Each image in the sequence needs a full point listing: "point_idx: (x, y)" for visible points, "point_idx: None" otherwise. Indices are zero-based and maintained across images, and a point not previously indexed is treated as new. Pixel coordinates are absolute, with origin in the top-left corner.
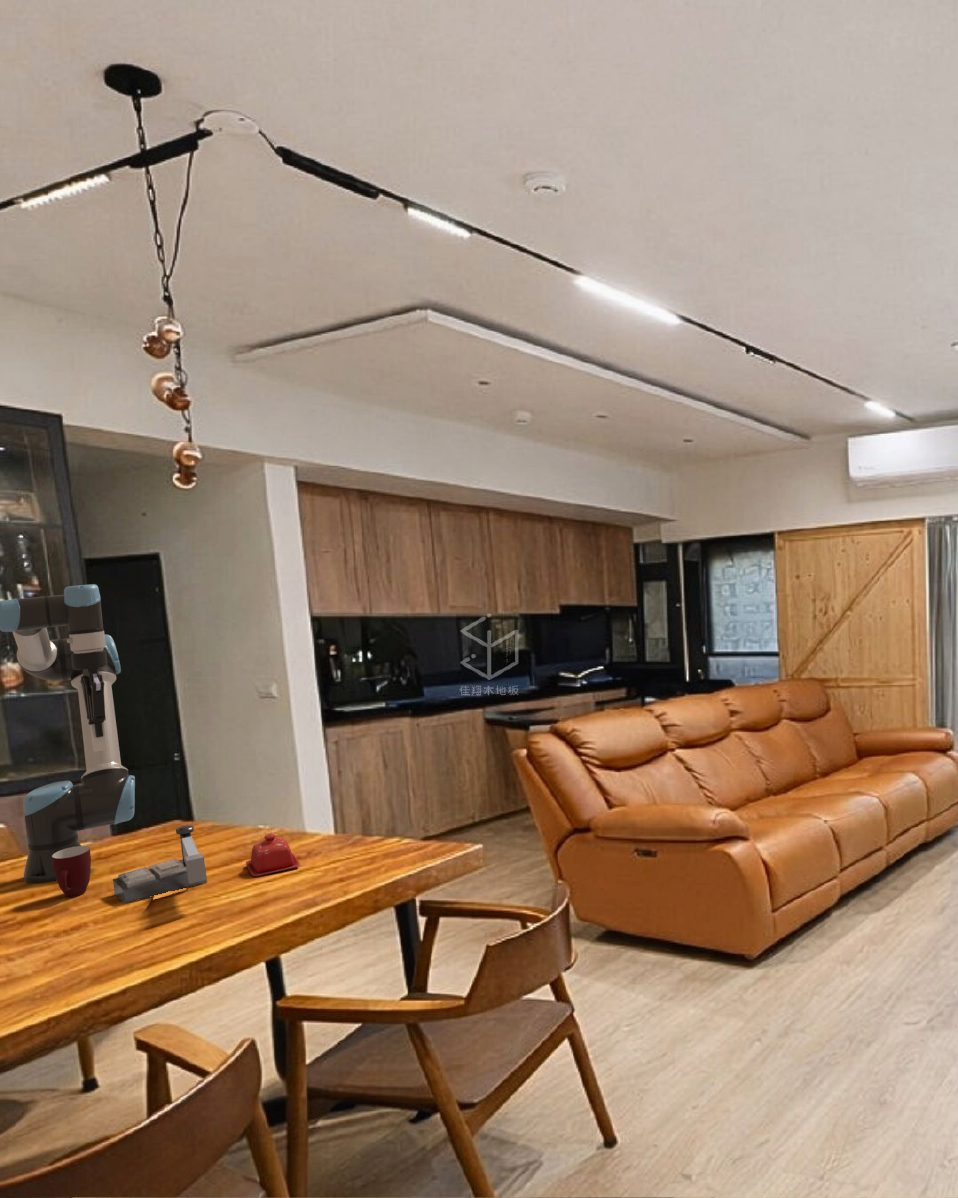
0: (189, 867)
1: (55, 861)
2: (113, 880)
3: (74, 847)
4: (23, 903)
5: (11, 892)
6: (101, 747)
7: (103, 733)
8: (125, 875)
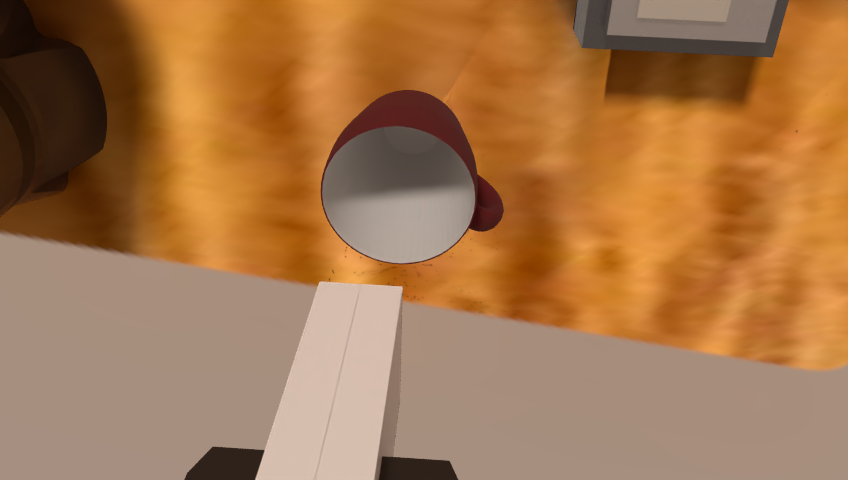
0: None
1: (428, 253)
2: (591, 47)
3: (327, 167)
4: (352, 261)
5: (208, 265)
6: (397, 360)
7: (381, 470)
8: (663, 18)
